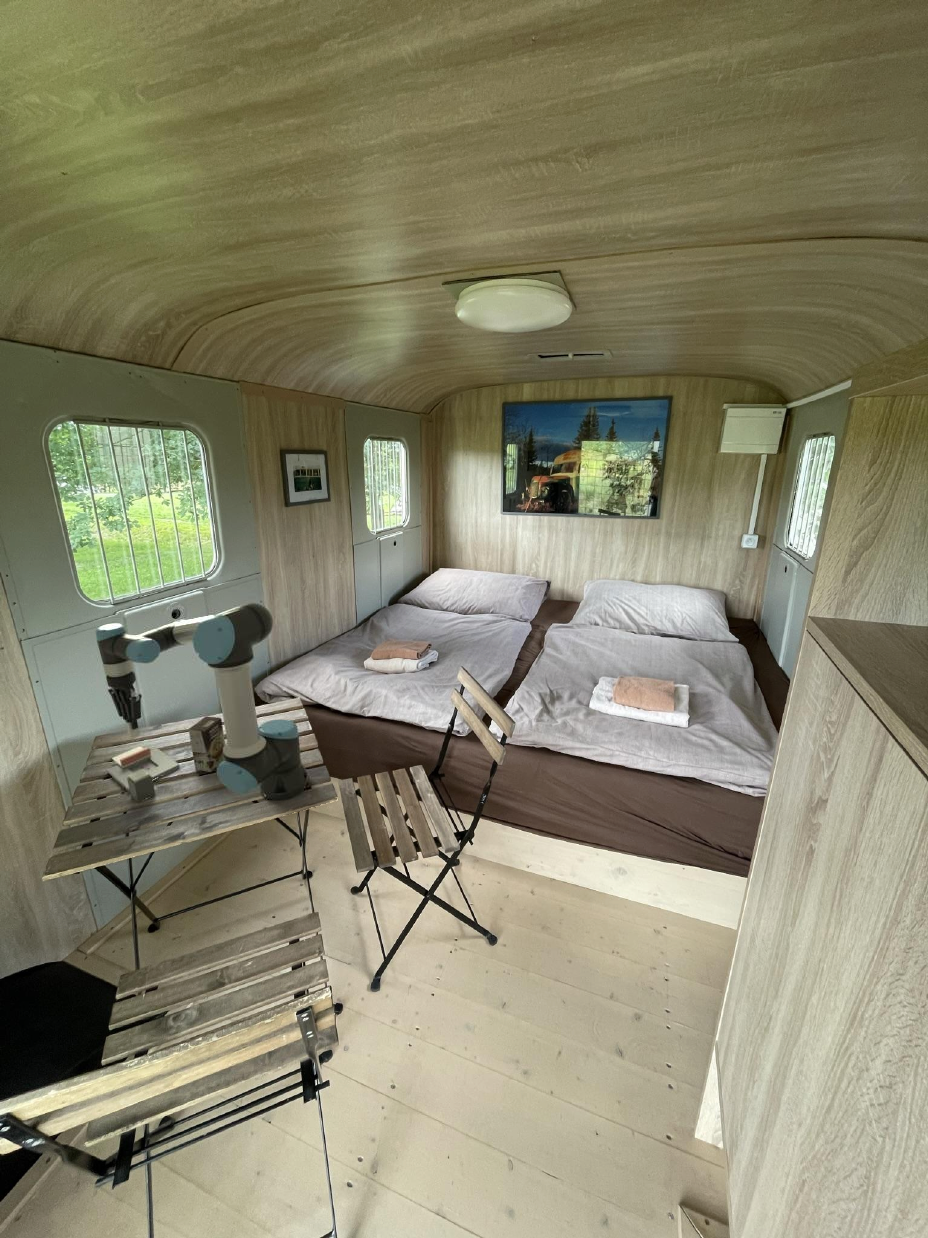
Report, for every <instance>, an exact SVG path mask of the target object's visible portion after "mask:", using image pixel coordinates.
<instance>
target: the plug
mask: <svg viewBox="0 0 928 1238" xmlns="http://www.w3.org/2000/svg"><path fill="white" fill-rule="evenodd" d="M127 781H128V785H129V789H130V792H129V794H130V797H131V798H132V799H133V798H134V800H135V801H136V802H137V803H138V804H140V803H142V802H144V801H146V800H147V799H146V798H148V799H149V797H150V798H151V797H154V796H155V794H156V791H155V786H154V783H153V782H154V781H152V776H151V775H150V774H149V773H148V772H147V771H145V770H144V769H141V770H139V771H137V772H134V773H132V774H130V775H128V777H127ZM153 795H154V796H153ZM145 799H146V800H145ZM143 800H144V801H143ZM141 801H142V802H141Z"/></svg>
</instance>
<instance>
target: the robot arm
mask: <svg viewBox="0 0 928 1238" xmlns="http://www.w3.org/2000/svg"><path fill="white" fill-rule="evenodd" d="M272 615H273V614H271V612H270V611H269V609H268V608H267V607H265V606H264V605H262V604H261V603H260V604H259V603H256V602H249V603H244V604H241V605H239V606H236V607H233V608H230V609H228V610H226V611H223V612H220V613H215V614H211V615H207V616H202V617H196V618H191V619H179V620H175V621H172V622H170V623H167V624H164V625H163V626H159V627H156V628H153V629H151V630H147V631H146V632H142V633H139V634H136V635H134V634H129V633H127V630H126V629H125V626H124V625H123V624H122V623H114V622H113V623H107V624H104V625H101V626H99V627H97V629H95V637H96V642H97V647H98V651H99V655H100V658H101V661H102V662H101V663H102V667H103V671H104V675H105V679H106V683H107V686H108V687H109V689H107V691H108V693H109V694H110V696H111V699H112V701H113V704H114V707H115V709H116V711H117V714H118V716H119V717H120V718H122V719H123V720H124V722H125V726H126V730H127V734H128V738H129V739H135V738H138V737H139V736H140V735H141V732H140V729H139V724H138V723H139V722H138V720H140V719H141V718H142V701H141V700H142V694H141V693H139V694H138V693H136V689H135V687H134V683H136V681H137V680H136V679H137V678H136V673H135V670H134V665H133V663H136V664H138V663H139V664H151V663H153V662H154V661H156V659H157V658H158V657H159V656H160V654H161V653H163V652H166V651H168V650H170V649H173V648H176V647H178V646H184V645H190V644H193V648H194V651H195V653H196V654H198V658H199V659H200V660H201V661H203V663H206V664H207V666H208V668H211V669H213V670H214V672H215V678H216V685H217V690H218V691H217V692H218V695H219V696H218V697H219V701H220V706H221V707H220V708H221V711H222V719H223V724H224V731H225V735H226V736H225V737H226V743H225V746H224V748H223V754H224V760H223V761H222V762H221V763H220V764H219V765H218V766H217V767H216V774H217V777H218V778H219V780H220V781H221V783H222V785H224V787H226V788H227V789H229V790H230V791H232V792H234V793H236V794H238V795H239V794H240V795H243V794H244V795H245V794H247V793H249V792H251V791H252V790H253V789H256V788H257V787H258V786H259V790H260V791H261V792H262V793H263V794H265V795H266V797H265V798H266V799H268V800H271V801H284V800H288V799H292V798H294V797H297V796H298V795H300V794H301V793H302V792H304V790H305V789H304V787H305V786H306V784H307V782H308V783H309V775H308V772H307V770H306V768H305V767H304V764H303V762H302V759H301V747H300V734H299V729H298V725H297V724H296V723H295V722H293V721H292V720H287V719H273V720H272V719H271V720H269V721H268V720H267V721H265V722H263V723H262V724H260V725H259V724H258V717H257V709H256V705H255V704H256V702H255V697H254V689H253V683H252V682H253V681H252V677H251V671H250V664H251V662H252V661H253V660H254V649H253V647H254V646H256V645H257V644H259V643H261V642H263V641H265V640H266V639H267V638H268V637H269V635H270V634H271V633H272V631H273V627H274V619H273V616H272ZM303 789H304V790H303ZM261 792H260V793H261Z"/></svg>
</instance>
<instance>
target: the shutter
mask: <svg viewBox="0 0 928 1238" xmlns="http://www.w3.org/2000/svg"><path fill="white" fill-rule="evenodd" d="M150 750H151V749H150V747H145V748H143V747H142V746H137V747H135V748H132V749H130V750H127V751H125V752H122V753H121V754H118V755H116V756H113V757H112V760H113V762H115V763H116V765H120V766H121V767H122V768H125V767H127V766H129V765H132V764H134V763H136V762H138V761H140V760H143V759H145V758H147V757H149V756H151V753H150Z"/></svg>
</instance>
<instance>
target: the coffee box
mask: <svg viewBox="0 0 928 1238" xmlns="http://www.w3.org/2000/svg"><path fill="white" fill-rule="evenodd" d="M224 733H225V732H224V728H223V720H222V717H214V716H208V715H207V716H204V717H203V718H201V719H200V720H199V721H197V722H196V723H195V724H194V725H192V726H191V727H190V728H188V734H189V741H190V745H191V752H192V758H193V762H194V763H193V764H194V769H195V770H199V771H204V772H209V773H212V772H213V770H215V768H217V767H218V766H219V764H220V763H221V762H223V761H224V754H223V748H224V746H225V745H226V741H225V734H224Z"/></svg>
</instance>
